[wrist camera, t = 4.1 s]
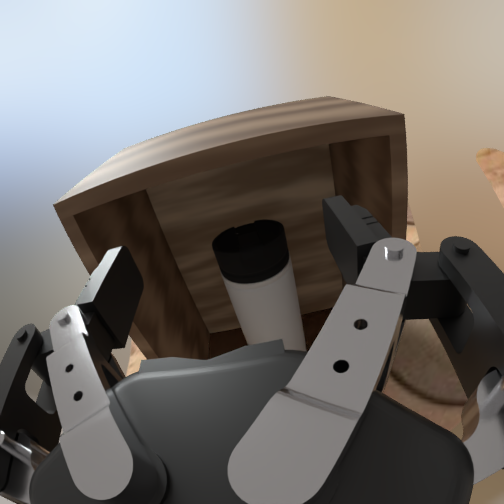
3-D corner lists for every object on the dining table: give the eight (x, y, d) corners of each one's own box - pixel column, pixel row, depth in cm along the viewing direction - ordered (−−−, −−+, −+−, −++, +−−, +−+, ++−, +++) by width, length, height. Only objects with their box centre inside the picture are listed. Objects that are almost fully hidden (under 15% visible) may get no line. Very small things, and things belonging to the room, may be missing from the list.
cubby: (383, 380, 29) (404, 114, 14) (197, 418, 31) (52, 204, 16) (348, 297, 42) (328, 96, 27) (202, 328, 44) (124, 148, 28)
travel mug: (264, 396, 32) (209, 261, 21) (255, 355, 37) (207, 222, 27) (315, 381, 32) (293, 238, 21) (301, 342, 37) (274, 203, 27)
